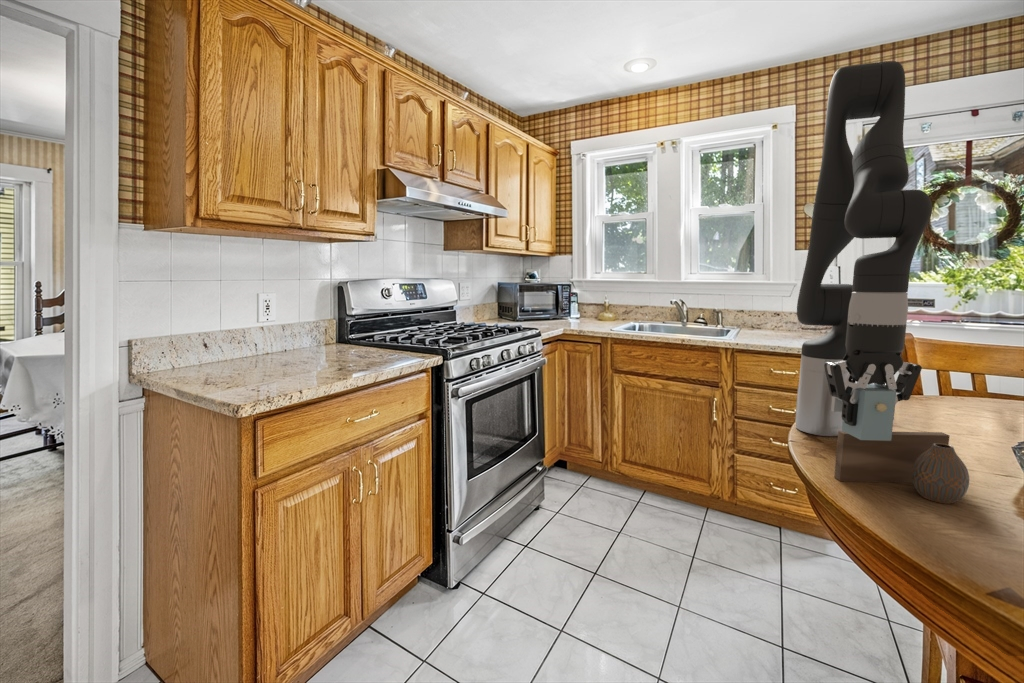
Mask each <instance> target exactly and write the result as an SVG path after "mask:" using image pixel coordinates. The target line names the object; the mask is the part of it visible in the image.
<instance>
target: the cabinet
mask: <svg viewBox="0 0 1024 683" xmlns="http://www.w3.org/2000/svg"><path fill="white" fill-rule="evenodd" d="M852 389H853V388H852ZM895 399H896V391H894V390H887V389H884V388H881V387H878V386H875V385H874V383H873V384H867V387H866V389H865V390H861V391H860V395H859V399H858V402H857V403H856V404H858V413H857V423H856V426H850V425H848V424H846V423H845V422H844V420H843V422H842V431H844V432H846V433H848V434H850V435H852V436H854V437H856V438H858V439H860V440H882V441H891V438H892V432H893V427H894V420H893V418H894V419H895V411H894V408H895V409H896V404H895ZM842 405H843V401H842V400H841V399H839V398H836V397H833V396H832V406H831V411H833V412H842Z"/></svg>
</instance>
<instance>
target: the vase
mask: <svg viewBox="0 0 1024 683" xmlns="http://www.w3.org/2000/svg"><path fill="white" fill-rule="evenodd" d="M911 479H912V483H911V484H912V486H913V488H915V491H916V492H917V493H918V494H919V495H920V496H921V497H922V498H924V499H927V500H928V501H931V502H935V503H940V504H954V503H956V502H958V501H959V500H961V499H963V497H964V496H966V494H967V491H968V489H969V486H970V474H969V471H968V468H967V466H966V464H965V463H964V461H963V460H962V459H961V457H960V456H959V455H958V454H957V452H956V450H955V448H954V446H952V445H950V444H949V445H947V444H943V443H934V444H933V445H932V446H931V447H930V448H929V449H928V450H927V451H925V452H924V453H922V454H921V455H920V456H919V457H917V459H916V460H915V462H914V464H913V466H912V470H911Z"/></svg>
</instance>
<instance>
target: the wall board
mask: <svg viewBox="0 0 1024 683" xmlns="http://www.w3.org/2000/svg"><path fill="white" fill-rule="evenodd" d="M836 442H837V444H836V452H835V465H834V475H833V477H834V479H836V480H838V481H839V482H857V483H858V482H859V483H860V482H863V483H865V482H866V483H867V482H869V483H904V484H905V483H908V484H910V483H911V484H913V483H912V479H911V470H912V466H913V464H914V462H915V460H916V459H917V457H919V456H920V455H921V454H922V453H924V452H925V451H927V450H928V449H929V448H930V447H931V446H932V445H933V444H934V443H943V444H947V445H950V444H949V443H950V435H949V434H947V433H944V432H943V431H941V432H939V431H938V432H935V431H930V432H929V431H924V432H923V431H892V438H891V441H882V440H860V439H858V438H856V437H854V436H852V435H850V434H848V433H846V432H844V431H838V436H837V441H836Z"/></svg>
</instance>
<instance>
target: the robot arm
mask: <svg viewBox="0 0 1024 683" xmlns="http://www.w3.org/2000/svg"><path fill="white" fill-rule="evenodd" d="M905 74H906V73H905V69H904V67H903V65H902V64H901V63H900V62H899V61H897V60H896V61H895V60H886V61H885V60H884V61H878V62H868V63H861V64H854V65H853V64H852V65H847V66H842V67H839V68H838V69H837V70H835V73H833V76H832V77H831V82H830V85H829V89H828V95H827V104H826V113H825V123H824V124H825V127H824V138H823V147H822V157H821V158H822V159H821V163H820V164H821V165H820V170H819V176H818V181H817V186H816V191H815V197H814V201H813V202H814V203H813V208H812V209H813V210H812V215H811V216H812V217H811V225H810V226H811V227H810V234H809V242H808V249H807V255H806V261H805V266H804V270H803V275H802V278H801V279H802V280H801V283H800V287H799V293H798V298H797V303H796V304H797V305H796V317H797V320H798V322H799V323H800V324H802V325H805V326H817V327H818V326H819V327H820V326H821V327H822V326H823V327H832V329H831V330H829V332H827V333H826V334H824V335H821V336H819V337H817V338H813V339H809V340H806V341H804V342H803V343H802V345H801V353H800V354H801V355H800V356H801V357H800V369H799V380H798V386H797V395H796V396H797V397H796V407H795V408H796V409H795V421H794V422H795V423H796V424H795V423H794V424H795V428H796V429H797V430H799V431H801V432H804V433H807V434H810V435H815V436H821V437H822V436H823V437H838V431H842V422H843V420H844V422H845V423H846V424H848V425H850V426H856V423H857V413H858V404H856V403H857V402H858V399H859V395H860V391H861V390H865V389H866V387H867V384H874V385H875V386H878V387H881V388H884V389H887V390H894V391H896V399H895V405H896V404H897V403H898V402H901V401H908V400H910V398H911V397H912V396H911V395H912V394H913V391H914V388H915V386H916V384H917V382H918V380H919V376H920V374H921V372H922V369H923V368H922V365H920V364H917V363H912V362H908V361H904V360H903V357H902V352H903V351H904V350H905V341H906V332H907V323H908V322H907V321H908V312H909V300H908V299H909V298H908V291H909V283H910V273H911V272H910V271H911V268H912V267H911V266H912V262H913V259H914V255H915V253H916V250H917V247H918V246H919V242H920V241H921V238H922V236H923V234H924V232H925V230H926V228H927V226H928V224H929V221H930V219H931V216H932V212H933V203H932V200H931V197H930V196H929V195H928V194H927V193H926V192H925V191H923V190H920V189H904V188H905V187H906V185H907V183H908V181H909V176H910V175H909V174H910V172H909V166H908V162H907V157H906V156H907V155H906V151H905V146H904V144H905V143H904V123H905V113H906V112H905V108H906V106H905V105H906V103H905V102H906V75H905ZM877 117H878V118H879V119H878V120H877V121H876V122H875V123H874V124H873V126H872V127H871V128H870V129H869V130H868V131H867V132H866V133H865V134H864V135H863V136H862V138H861V139H860V140H859V141H858V143H857V145H856V146H855V148H854V151H853V152H852V150H851V147H850V145H849V142H848V138H847V128H846V126H847V121H848V120H849V121H851V120H860V119H861V120H862V119H863V120H864V119H873V118H877ZM855 238H856V239H888V238H889V239H891V238H895V240H894V243H893V244H892V245H891V247H889V248H888V249H886V250H883V251H880V252H873V253H868V254H864V255H861V256H859V257H857V259H856V260H855V261H854V262H855V263H854V266H853V277H852V284H848V283H822V282H823V280H824V277H825V275H826V272H827V270H828V269H829V267H830V266H831V264H832V263H833V261H835V259H836V258H837V257H838V255H839V254H840V253H841V252H842V251H843V250H844V249H845V248H847V246H848V245H849V244H850V243H851V242H852V241H853V240H854V239H855ZM897 372H898V376H897V379H896V378H895V375H896V374H897ZM856 382H857V383H856ZM852 388H853V389H852ZM832 396H833V397H836V398H839V399H841V400H842V401H843V405H842V412H833V411H831V406H832ZM895 409H896V407H895V408H894V412H895ZM894 420H895V417H894V418H893V421H894Z"/></svg>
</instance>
